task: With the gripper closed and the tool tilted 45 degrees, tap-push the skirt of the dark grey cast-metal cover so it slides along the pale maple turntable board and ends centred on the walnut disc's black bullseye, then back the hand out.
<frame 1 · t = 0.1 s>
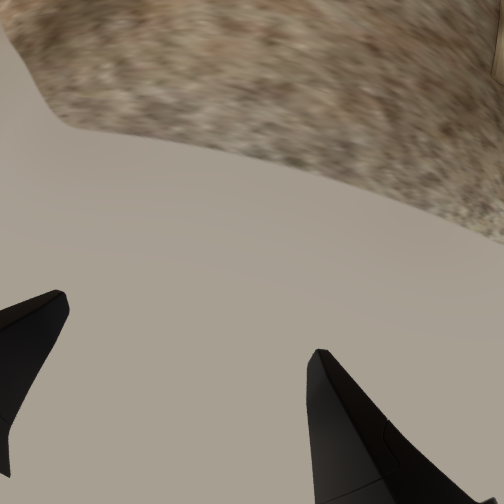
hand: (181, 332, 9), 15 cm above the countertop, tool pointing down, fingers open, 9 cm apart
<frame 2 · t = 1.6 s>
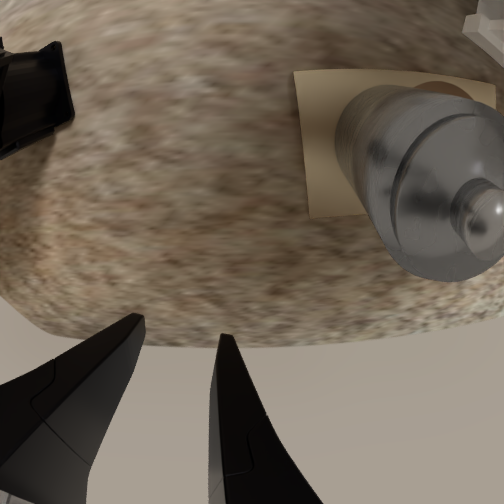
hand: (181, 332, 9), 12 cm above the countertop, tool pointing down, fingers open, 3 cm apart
cover: (392, 144, 16), point 1 cm above the countertop, touching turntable
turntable: (410, 141, 16), on the countertop
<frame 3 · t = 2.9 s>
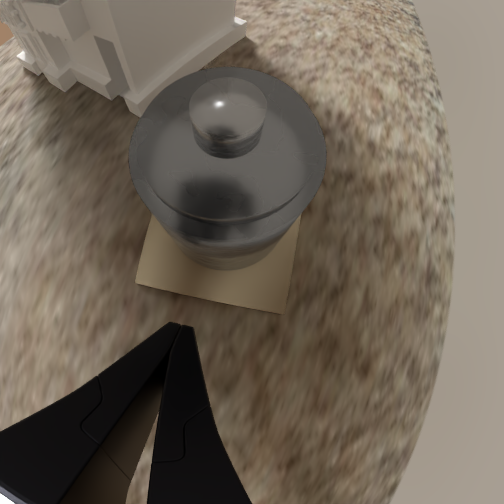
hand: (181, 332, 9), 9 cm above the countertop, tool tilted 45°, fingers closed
cover: (226, 210, 19), point 1 cm above the countertop, touching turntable
dollhouse: (117, 44, 22), on the countertop
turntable: (231, 192, 20), on the countertop
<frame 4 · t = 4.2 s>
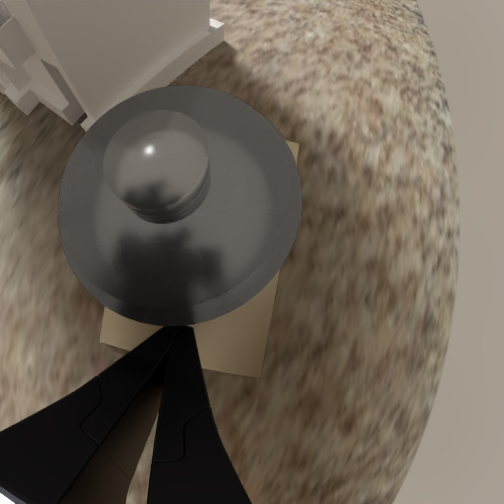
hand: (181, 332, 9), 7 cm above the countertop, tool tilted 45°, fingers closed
cover: (197, 244, 17), point 1 cm above the countertop, touching gripper, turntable
dollhouse: (82, 55, 19), on the countertop
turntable: (201, 238, 17), on the countertop
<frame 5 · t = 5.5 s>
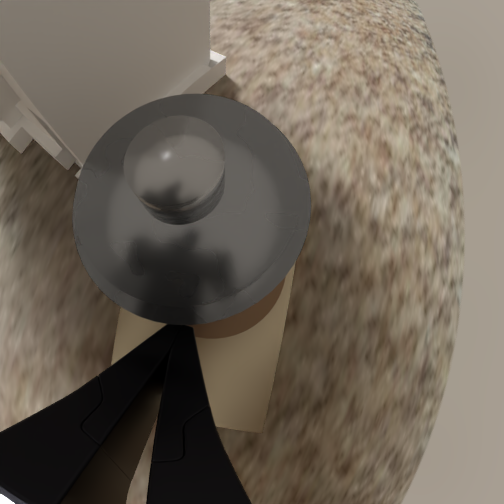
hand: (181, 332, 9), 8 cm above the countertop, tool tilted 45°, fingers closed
cover: (204, 251, 17), point 1 cm above the countertop, touching gripper, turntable
dollhouse: (76, 87, 20), on the countertop
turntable: (204, 301, 17), on the countertop
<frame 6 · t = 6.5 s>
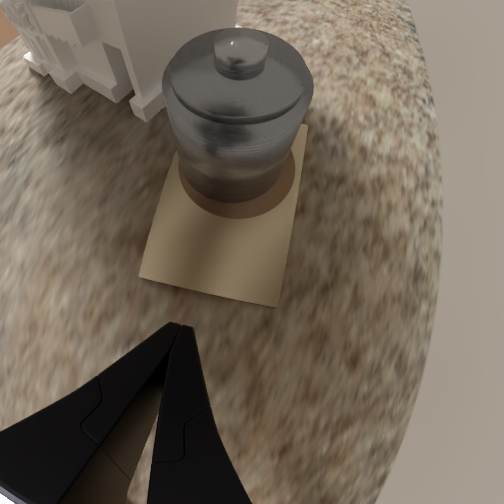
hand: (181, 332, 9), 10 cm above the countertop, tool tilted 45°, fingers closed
cover: (232, 155, 21), point 1 cm above the countertop, touching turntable
dollhouse: (121, 48, 24), on the countertop
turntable: (230, 193, 21), on the countertop
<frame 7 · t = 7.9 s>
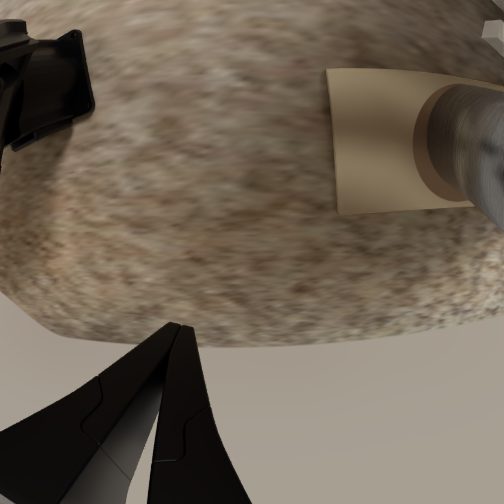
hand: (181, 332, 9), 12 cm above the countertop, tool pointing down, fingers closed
cover: (470, 138, 15), point 1 cm above the countertop, touching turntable
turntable: (434, 141, 16), on the countertop
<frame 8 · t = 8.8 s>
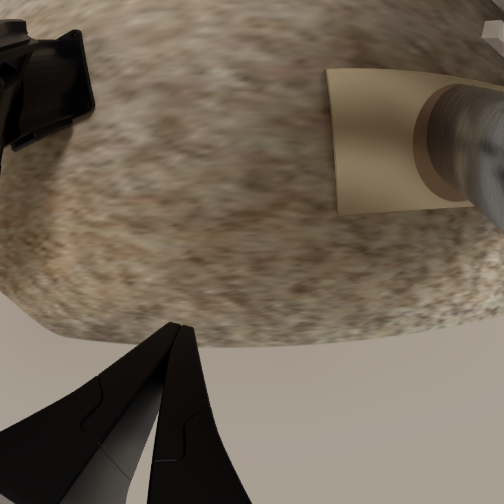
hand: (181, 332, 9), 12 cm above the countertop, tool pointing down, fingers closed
cover: (470, 138, 15), point 1 cm above the countertop, touching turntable
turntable: (434, 141, 16), on the countertop
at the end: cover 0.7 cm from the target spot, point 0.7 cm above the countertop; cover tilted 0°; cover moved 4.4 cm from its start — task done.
